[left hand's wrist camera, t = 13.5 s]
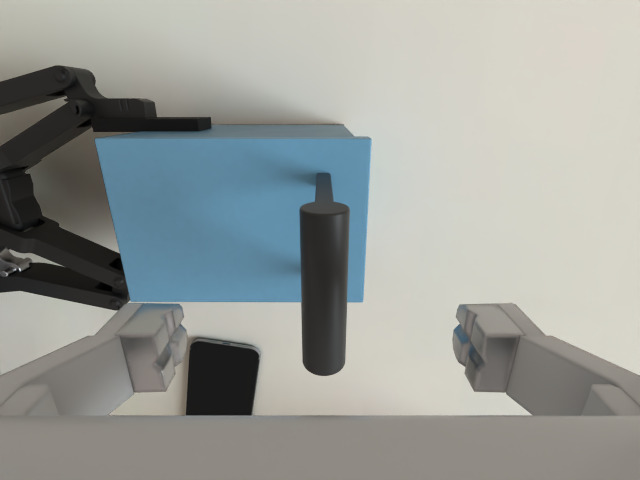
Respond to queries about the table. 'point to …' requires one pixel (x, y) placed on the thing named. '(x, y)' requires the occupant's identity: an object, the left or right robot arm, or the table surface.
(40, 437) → the left robot arm
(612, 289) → the table surface
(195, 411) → the smartphone
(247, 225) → the lid
